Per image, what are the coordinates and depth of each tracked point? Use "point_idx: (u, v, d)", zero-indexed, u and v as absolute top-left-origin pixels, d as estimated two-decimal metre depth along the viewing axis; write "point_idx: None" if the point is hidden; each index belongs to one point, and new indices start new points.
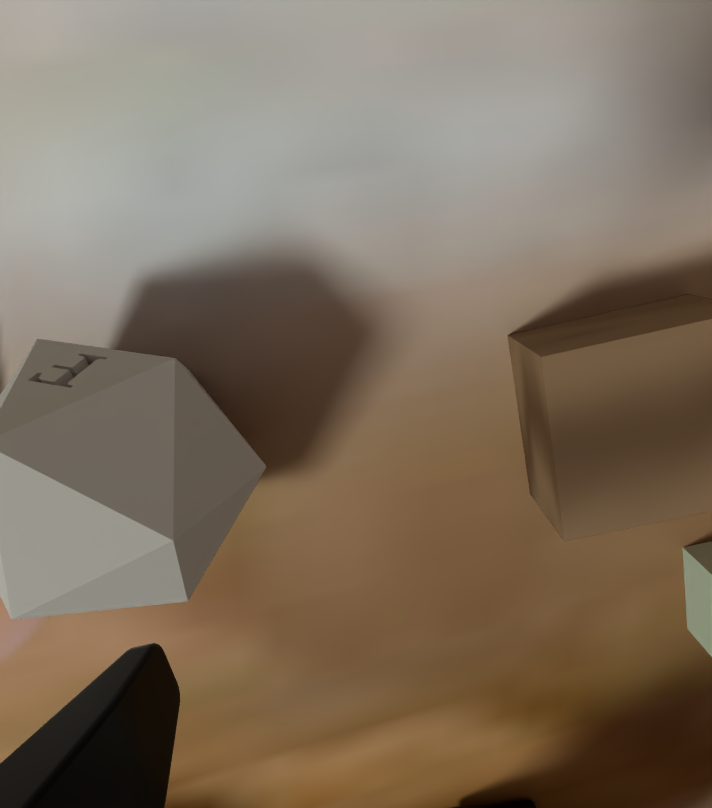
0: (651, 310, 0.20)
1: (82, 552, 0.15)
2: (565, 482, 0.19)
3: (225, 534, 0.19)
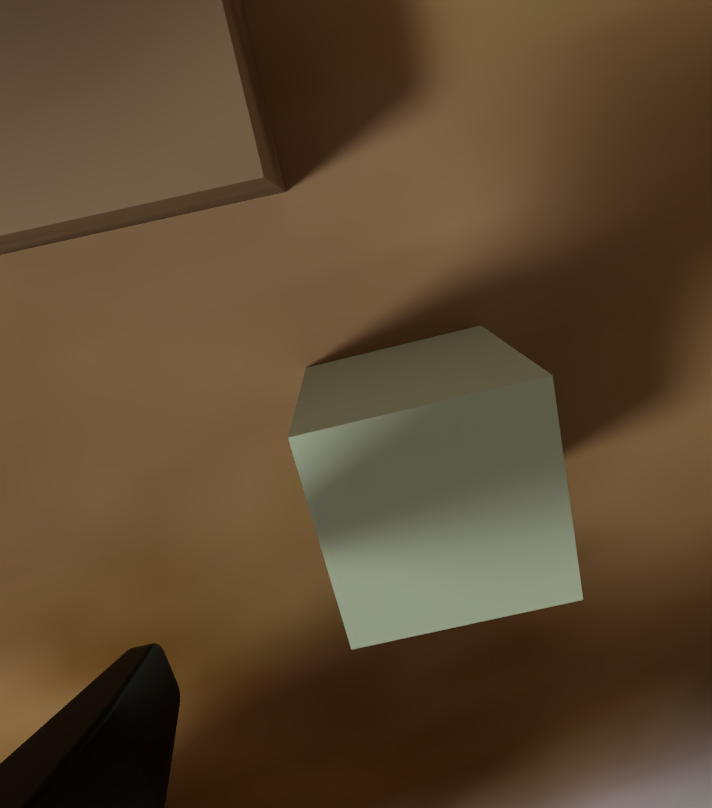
0: None
1: None
2: None
3: None
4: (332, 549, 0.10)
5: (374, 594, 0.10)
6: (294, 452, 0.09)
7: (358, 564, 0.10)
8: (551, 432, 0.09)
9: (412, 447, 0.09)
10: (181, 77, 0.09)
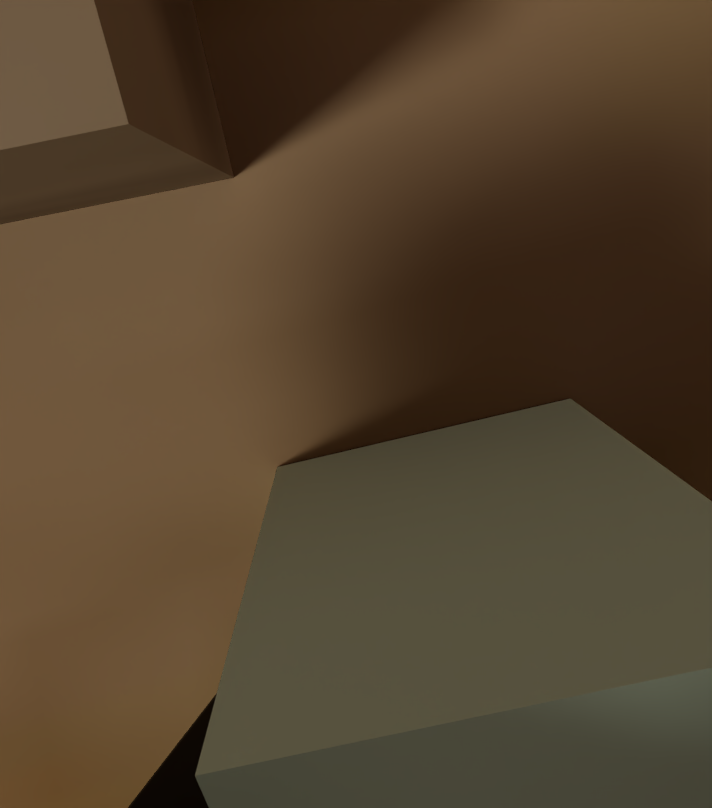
0: None
1: None
2: None
3: None
4: None
5: None
6: (212, 806, 0.04)
7: None
8: None
9: (509, 790, 0.04)
10: None
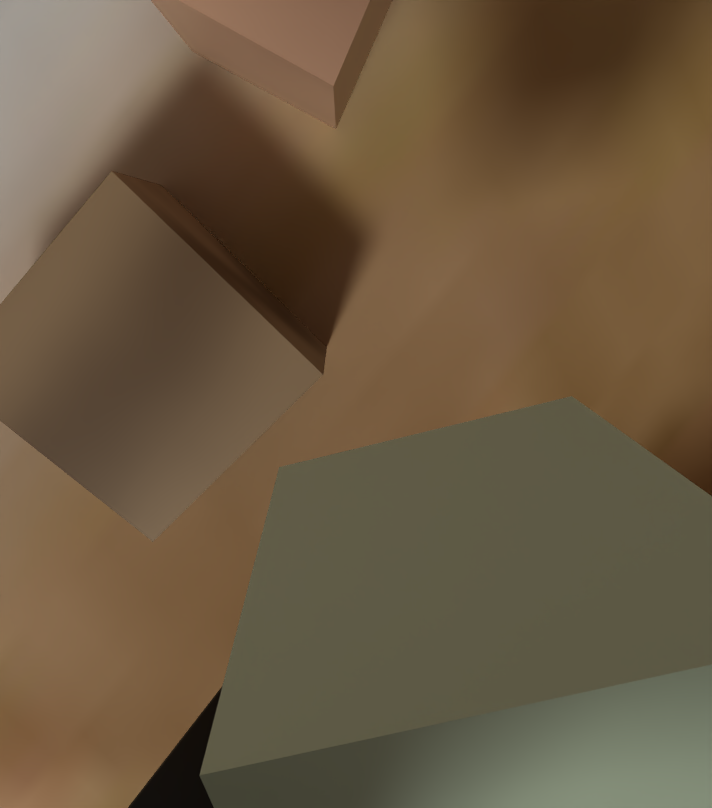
0: None
1: None
2: (93, 482, 0.15)
3: None
4: None
5: None
6: (217, 806, 0.04)
7: None
8: None
9: (513, 787, 0.04)
10: (252, 354, 0.14)
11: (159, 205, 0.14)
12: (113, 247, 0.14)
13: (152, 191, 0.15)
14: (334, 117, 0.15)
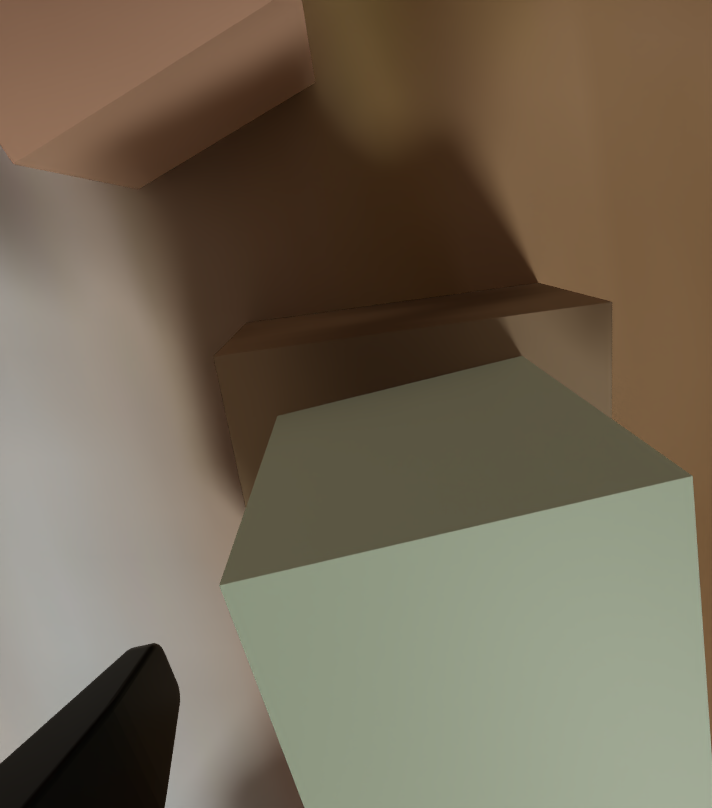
0: None
1: None
2: None
3: None
4: (303, 757, 0.06)
5: None
6: (231, 609, 0.05)
7: (346, 776, 0.06)
8: (683, 571, 0.05)
9: (438, 598, 0.05)
10: None
11: (276, 336, 0.11)
12: None
13: (254, 333, 0.11)
14: (310, 60, 0.10)
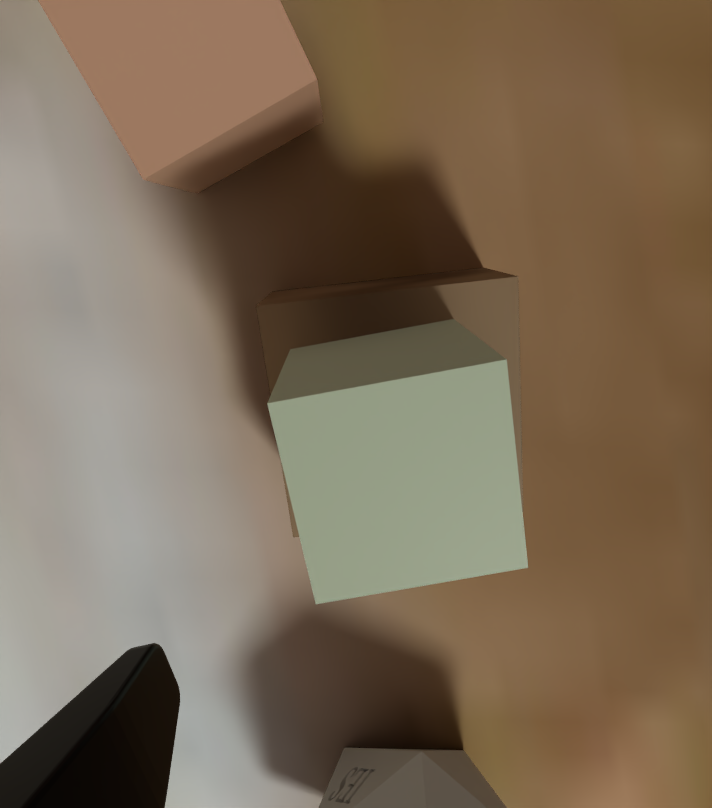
0: None
1: None
2: None
3: None
4: (302, 509, 0.11)
5: (339, 553, 0.11)
6: (272, 417, 0.10)
7: (325, 524, 0.11)
8: (504, 411, 0.10)
9: (378, 418, 0.10)
10: (457, 318, 0.15)
11: (296, 297, 0.16)
12: None
13: (280, 296, 0.17)
14: (321, 110, 0.15)
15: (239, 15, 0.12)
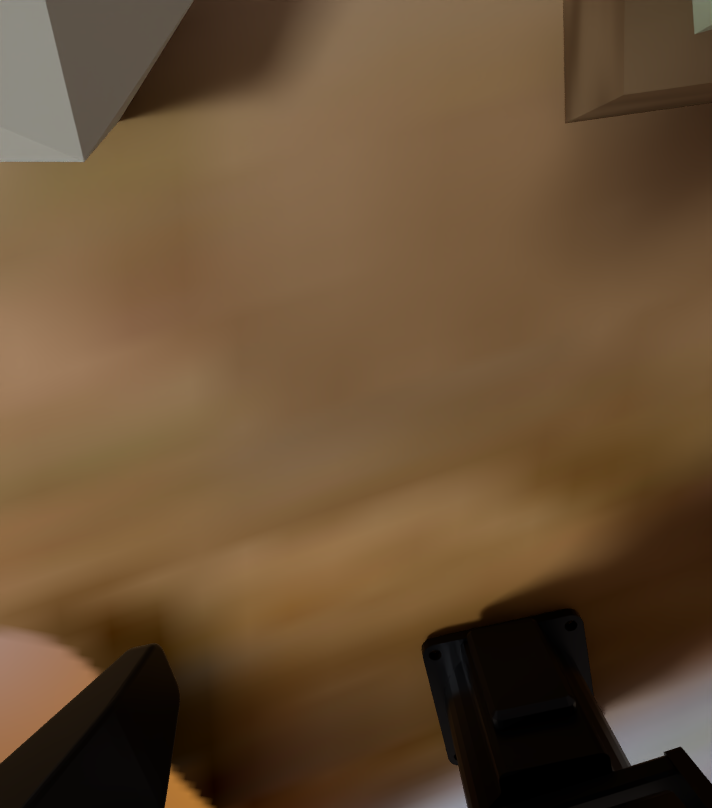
0: None
1: None
2: None
3: (141, 65, 0.13)
4: None
5: None
6: None
7: None
8: None
9: None
10: None
11: None
12: None
13: None
14: None
15: None
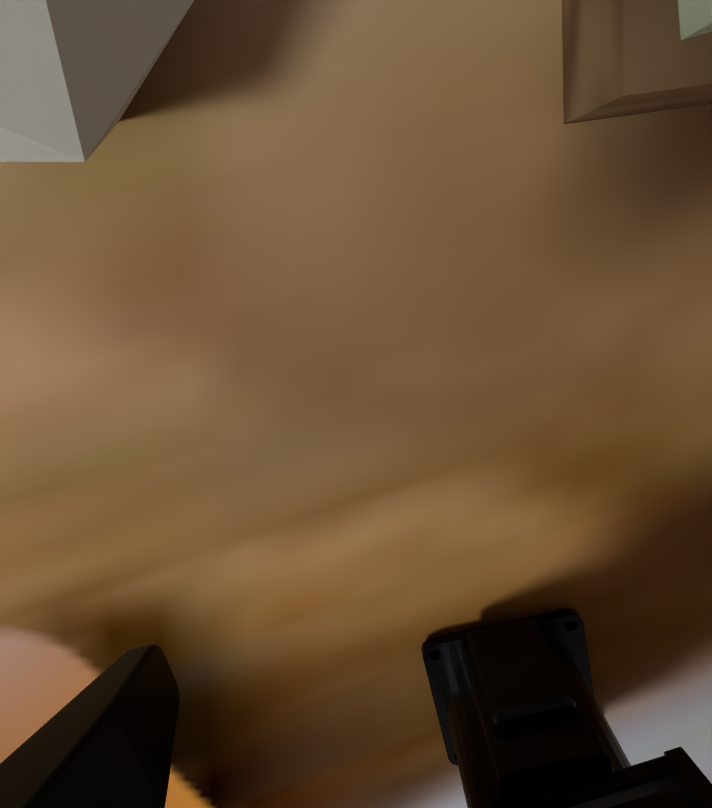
0: None
1: None
2: None
3: (141, 65, 0.13)
4: None
5: None
6: None
7: None
8: None
9: None
10: None
11: None
12: None
13: None
14: None
15: None
